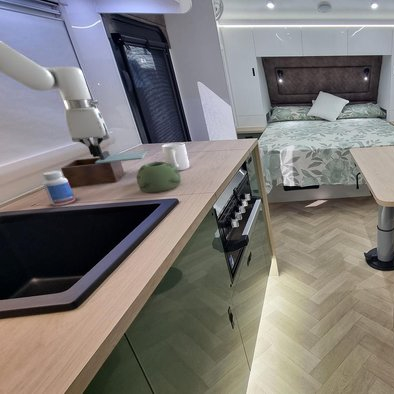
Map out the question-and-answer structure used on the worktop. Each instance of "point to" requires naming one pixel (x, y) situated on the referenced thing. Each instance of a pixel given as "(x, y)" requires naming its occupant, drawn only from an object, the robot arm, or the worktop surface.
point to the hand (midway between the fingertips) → (97, 156)
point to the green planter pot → (158, 177)
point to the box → (91, 172)
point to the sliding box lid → (120, 156)
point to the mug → (176, 155)
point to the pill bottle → (58, 188)
